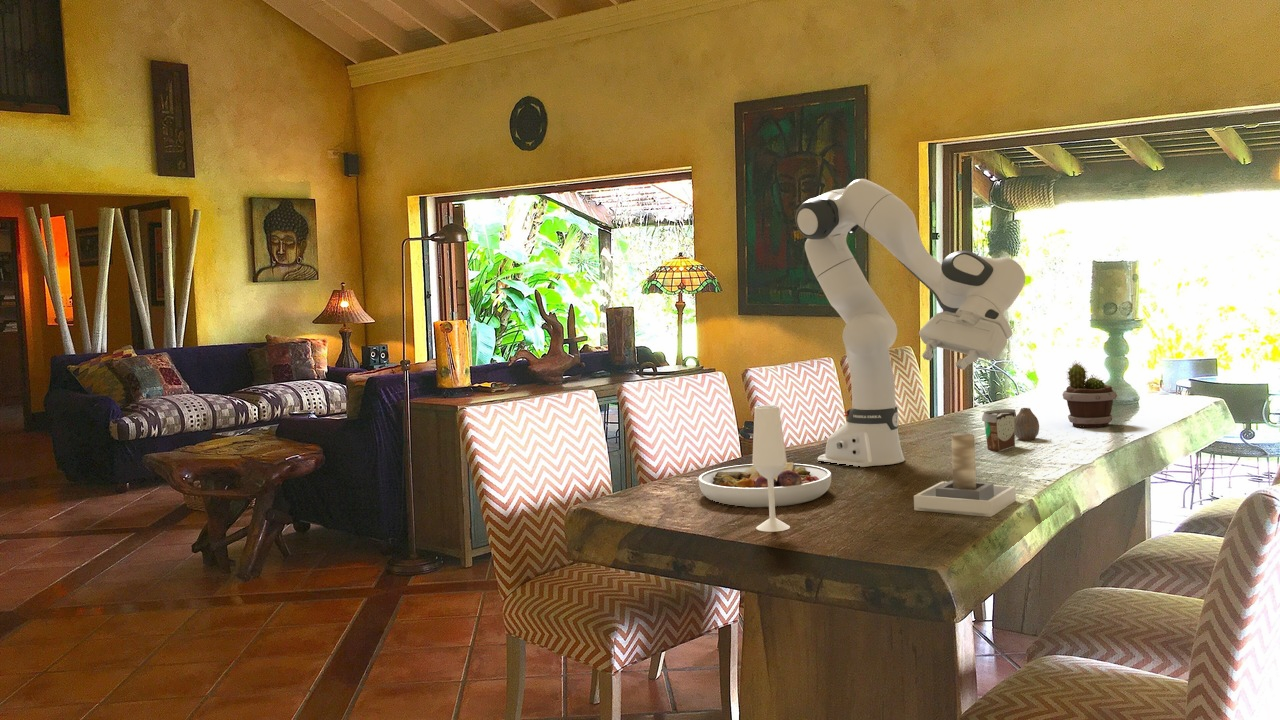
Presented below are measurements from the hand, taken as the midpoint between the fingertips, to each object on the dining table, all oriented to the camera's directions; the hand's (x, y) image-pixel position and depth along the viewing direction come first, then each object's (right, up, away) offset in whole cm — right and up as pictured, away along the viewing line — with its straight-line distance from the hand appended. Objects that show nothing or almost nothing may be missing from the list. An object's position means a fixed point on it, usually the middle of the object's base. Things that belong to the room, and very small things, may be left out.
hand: (942, 362), depth 223 cm
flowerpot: (+67, -19, +75) cm, 103 cm away
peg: (-1, -29, -17) cm, 34 cm away
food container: (+29, -23, +47) cm, 60 cm away
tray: (-1, -29, -17) cm, 34 cm away
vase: (+41, -22, +58) cm, 75 cm away
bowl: (-39, -31, +5) cm, 50 cm away
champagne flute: (-41, -33, -26) cm, 59 cm away
